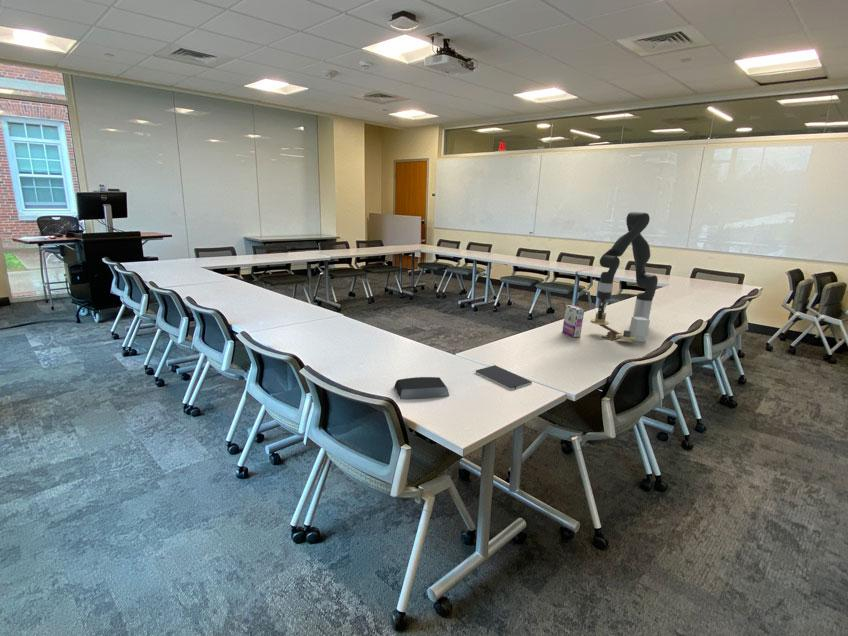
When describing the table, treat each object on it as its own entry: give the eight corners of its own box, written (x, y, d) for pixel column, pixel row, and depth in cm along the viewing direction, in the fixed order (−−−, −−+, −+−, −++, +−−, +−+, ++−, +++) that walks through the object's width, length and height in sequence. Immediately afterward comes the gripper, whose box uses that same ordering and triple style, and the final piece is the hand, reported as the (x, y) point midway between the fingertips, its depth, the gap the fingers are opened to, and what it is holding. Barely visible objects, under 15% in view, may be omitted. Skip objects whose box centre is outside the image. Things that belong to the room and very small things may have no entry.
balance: (585, 332, 266) (587, 320, 264) (595, 330, 272) (597, 318, 270) (628, 346, 245) (631, 333, 243) (638, 343, 250) (641, 330, 248)
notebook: (531, 384, 189) (494, 368, 205) (532, 381, 188) (494, 365, 204) (511, 391, 181) (474, 373, 197) (511, 388, 181) (474, 370, 197)
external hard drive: (449, 398, 173) (450, 388, 171) (400, 401, 168) (400, 391, 167) (440, 384, 185) (440, 374, 184) (393, 386, 180) (394, 377, 179)
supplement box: (646, 342, 254) (650, 320, 251) (633, 341, 254) (637, 319, 251) (640, 337, 261) (644, 317, 258) (627, 337, 261) (631, 316, 258)
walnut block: (596, 319, 266) (597, 311, 265) (604, 321, 264) (606, 313, 263) (594, 321, 262) (596, 313, 261) (603, 323, 260) (605, 314, 258)
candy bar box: (580, 337, 256) (585, 309, 252) (573, 337, 254) (577, 309, 250) (569, 331, 266) (573, 304, 262) (561, 331, 265) (565, 304, 260)
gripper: (599, 287, 266) (595, 314, 270) (596, 291, 253) (592, 319, 258) (613, 289, 262) (608, 316, 267) (610, 293, 250) (605, 321, 255)
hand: (600, 317), depth 262 cm, fingers open, 8 cm apart
